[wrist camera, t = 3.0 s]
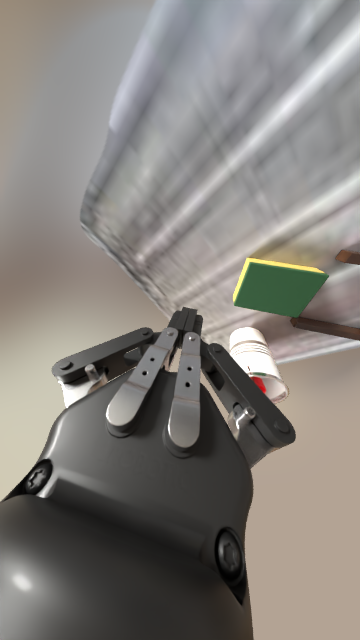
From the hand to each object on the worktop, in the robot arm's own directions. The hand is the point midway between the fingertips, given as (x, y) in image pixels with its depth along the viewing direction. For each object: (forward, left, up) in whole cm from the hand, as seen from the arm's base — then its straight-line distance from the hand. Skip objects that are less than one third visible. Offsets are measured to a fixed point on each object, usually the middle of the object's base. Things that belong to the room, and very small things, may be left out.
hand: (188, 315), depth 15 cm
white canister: (+13, +13, -14) cm, 23 cm away
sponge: (0, +12, -14) cm, 18 cm away
